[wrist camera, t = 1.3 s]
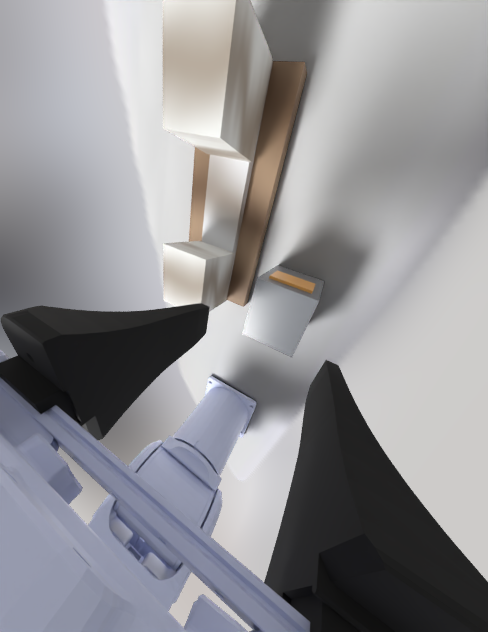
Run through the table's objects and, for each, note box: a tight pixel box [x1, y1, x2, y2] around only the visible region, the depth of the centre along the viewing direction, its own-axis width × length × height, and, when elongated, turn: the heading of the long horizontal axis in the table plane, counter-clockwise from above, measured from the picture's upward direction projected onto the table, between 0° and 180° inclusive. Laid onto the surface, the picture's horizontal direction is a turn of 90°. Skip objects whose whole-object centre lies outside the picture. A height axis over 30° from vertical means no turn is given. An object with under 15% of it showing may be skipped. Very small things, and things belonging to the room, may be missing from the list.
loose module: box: [242, 265, 324, 357], centre depth 16 cm, size 5×4×6 cm
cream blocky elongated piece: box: [163, 0, 307, 311], centre depth 15 cm, size 17×8×6 cm, turn 166°
